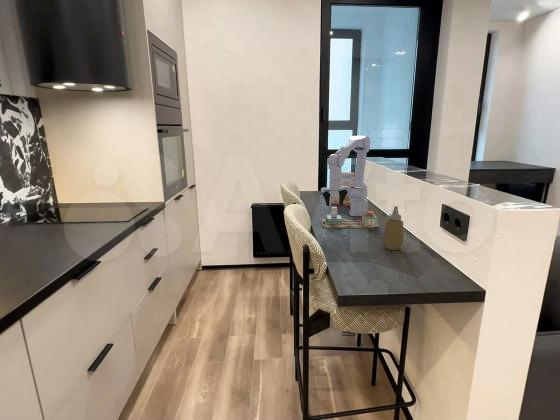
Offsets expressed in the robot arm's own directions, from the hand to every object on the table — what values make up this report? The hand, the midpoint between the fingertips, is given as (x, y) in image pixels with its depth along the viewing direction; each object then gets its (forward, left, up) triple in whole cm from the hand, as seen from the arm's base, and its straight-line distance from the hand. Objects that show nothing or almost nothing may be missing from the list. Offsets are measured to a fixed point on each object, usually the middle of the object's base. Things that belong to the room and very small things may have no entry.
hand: (334, 205), depth 165 cm
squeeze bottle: (-21, +32, -11) cm, 40 cm away
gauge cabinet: (-18, 0, -10) cm, 21 cm away
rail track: (-8, 0, -10) cm, 13 cm away
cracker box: (-10, -44, -11) cm, 46 cm away
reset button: (-18, 0, -8) cm, 20 cm away
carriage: (0, 0, -9) cm, 9 cm away
